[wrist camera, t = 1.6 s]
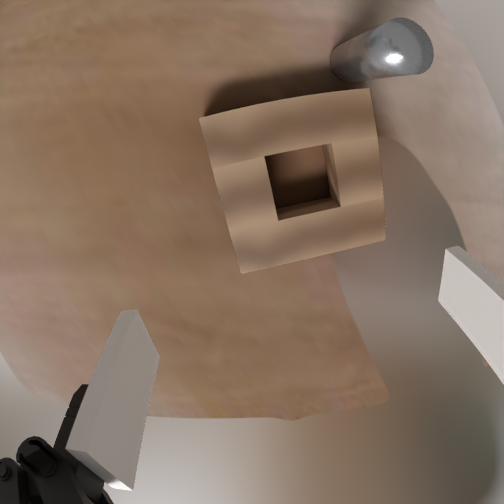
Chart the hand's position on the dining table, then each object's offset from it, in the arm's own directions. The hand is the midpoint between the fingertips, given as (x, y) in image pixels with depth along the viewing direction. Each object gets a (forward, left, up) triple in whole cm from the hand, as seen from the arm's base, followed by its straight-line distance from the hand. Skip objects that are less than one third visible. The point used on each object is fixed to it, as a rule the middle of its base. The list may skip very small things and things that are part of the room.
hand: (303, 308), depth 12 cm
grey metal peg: (-11, +12, -22) cm, 27 cm away
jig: (0, +4, -22) cm, 22 cm away
